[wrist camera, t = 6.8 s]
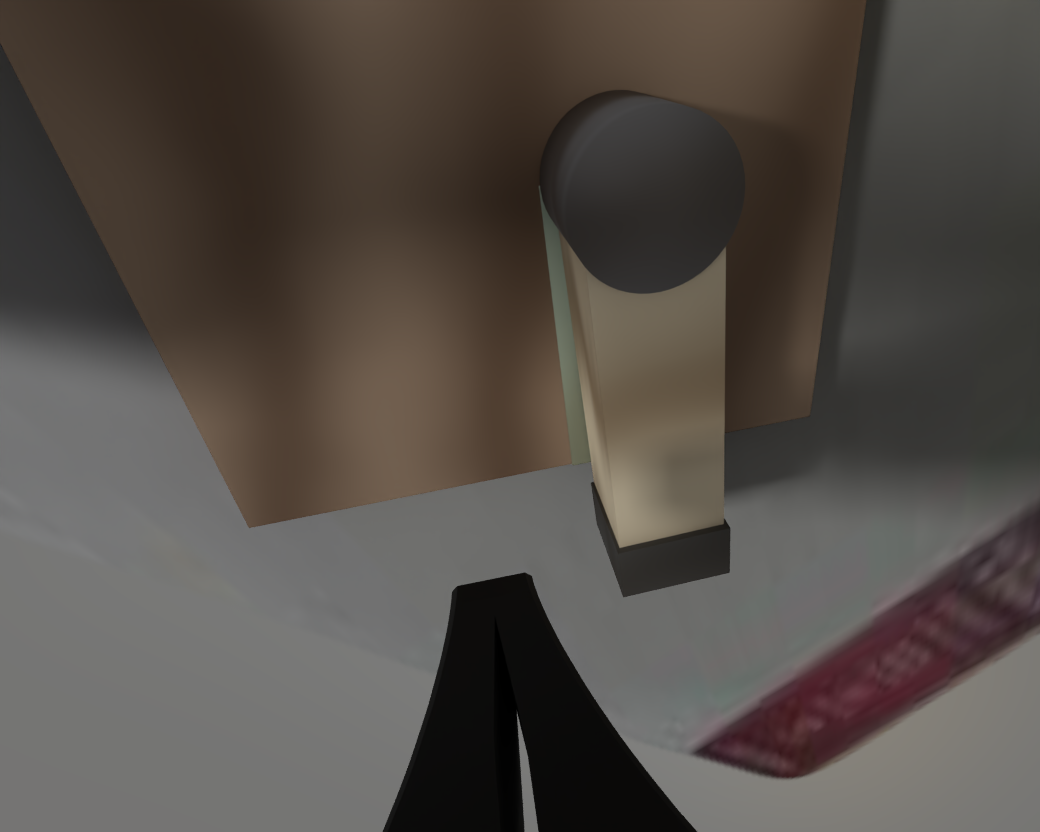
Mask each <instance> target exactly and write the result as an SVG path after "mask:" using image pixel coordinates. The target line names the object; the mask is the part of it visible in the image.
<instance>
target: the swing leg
mask: <svg viewBox="0 0 1040 832" xmlns="http://www.w3.org/2000/svg"><path fill="white" fill-rule="evenodd" d="M540 191H541V195H542V200H543V203H544V205H545V208H546V210H547V212H548V214H549V216H550V218H551V219H552V221H553V222H554V224H555V225H556V227H557V228H558V230H559V236H560V243H561V250H562V258H563V265H564V272H565V279H566V286H567V293H568V300H569V307H570V314H571V322H572V329H573V336H574V343H575V350H576V357H577V364H578V371H579V378H580V385H581V393H582V400H583V407H584V414H585V421H586V428H587V435H588V442H589V449H590V457H591V464H592V471H593V478H594V482H592V483H591V486H592V493H593V500H594V507H595V514H596V521H597V525H598V528H599V531H600V534H601V536H602V539H603V542H604V545H605V547H606V550H607V553H608V556H609V559H610V561H611V564H612V567H613V570H614V572H615V575H616V578H617V581H618V584H619V586H620V589H621V592H622V595H623V597H627V596H631V595H635V594H640V593H644V592H648V591H652V590H657V589H661V588H665V587H670V586H674V585H678V584H683V583H687V582H691V581H696V580H700V579H704V578H708V577H713V576H717V575H721V574H726V573H730V527H729V525H728V524H727V522H726V520H725V519H724V431H725V299H726V245H727V244H728V242H729V240H730V238H731V237H732V235H733V233H734V231H735V229H736V226H737V224H738V222H739V218H740V215H741V212H742V208H743V203H744V197H745V173H744V167H743V162H742V159H741V156H740V152H739V150H738V148H737V146H736V144H735V142H734V140H733V139H732V137H731V136H730V134H729V133H728V131H727V130H726V129H725V128H724V127H723V126H722V125H721V124H720V123H719V122H718V121H716V120H715V119H714V118H712V117H711V116H710V115H708V114H706V113H704V112H702V111H700V110H697V109H694V108H692V107H689V106H685V105H682V104H678V103H675V102H671V101H668V100H664V99H661V98H657V97H654V96H650V95H647V94H643V93H640V92H636V91H630V90H612V91H605V92H602V93H598V94H595V95H593V96H591V97H589V98H587V99H585V100H583V101H582V102H580V103H578V104H577V105H576V106H574V107H573V108H572V109H571V110H570V111H568V112H567V114H566V115H565V116H564V117H563V118H562V119H561V120H560V121H559V123H558V124H557V125H556V127H555V128H554V130H553V132H552V133H551V135H550V137H549V139H548V141H547V144H546V146H545V149H544V152H543V156H542V159H541V166H540Z"/></svg>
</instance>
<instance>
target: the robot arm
mask: <svg viewBox="0 0 1040 832" xmlns="http://www.w3.org/2000/svg"><path fill="white" fill-rule="evenodd" d="M517 713H518V717H519V721H520V725H521V730H522V734H523V738H524V742H525V746H526V750H527V754H528V759H529V767H530V774H531V781H532V788H533V795H534V802H535V809H536V816H537V824H538V831H539V832H697V831H696V830H695V829H694V828H693V827H692V825H691V824H690V823H689V822H688V821H687V820H686V819H685V817H684V816H683V815H682V814H681V813H680V812H679V811H678V809H677V808H676V807H675V806H674V805H673V803H672V802H671V801H670V800H669V798H668V797H667V796H666V795H665V794H664V792H663V791H662V790H661V789H660V787H659V786H658V785H657V784H656V782H655V781H654V780H653V779H652V777H651V776H650V775H649V774H648V772H647V771H646V770H645V768H644V767H643V766H642V765H641V763H640V762H639V761H638V759H637V758H636V757H635V756H634V754H633V753H632V752H631V750H630V749H629V748H628V746H627V745H626V743H625V742H624V741H623V739H622V738H621V737H620V735H619V734H618V732H617V731H616V730H615V728H614V727H613V725H612V724H611V723H610V721H609V720H608V718H607V717H606V715H605V714H604V712H603V711H602V709H601V708H600V706H599V705H598V703H597V702H596V700H595V699H594V697H593V696H592V694H591V693H590V691H589V690H588V688H587V687H586V685H585V683H584V682H583V680H582V679H581V677H580V675H579V674H578V672H577V670H576V668H575V667H574V665H573V663H572V662H571V660H570V658H569V657H568V655H567V653H566V652H565V650H564V648H563V646H562V645H561V643H560V641H559V639H558V637H557V635H556V633H555V631H554V629H553V627H552V625H551V623H550V621H549V619H548V617H547V615H546V613H545V611H544V609H543V607H542V604H541V602H540V599H539V597H538V594H537V591H536V589H535V586H534V583H533V579H532V576H531V575H529V574H527V573H520V574H515V575H510V576H505V577H500V578H495V579H490V580H485V581H480V582H475V583H470V584H465V585H460V586H457V587H456V588H455V589H454V590H453V591H452V600H451V609H450V615H449V622H448V627H447V633H446V638H445V642H444V647H443V651H442V656H441V660H440V664H439V668H438V671H437V675H436V679H435V683H434V686H433V690H432V694H431V698H430V701H429V705H428V708H427V711H426V714H425V718H424V721H423V724H422V727H421V730H420V733H419V736H418V739H417V742H416V745H415V748H414V751H413V754H412V757H411V760H410V763H409V766H408V768H407V771H406V774H405V776H404V779H403V782H402V784H401V787H400V790H399V792H398V795H397V798H396V800H395V803H394V805H393V807H392V810H391V812H390V815H389V817H388V820H387V822H386V825H385V827H384V830H383V832H524V817H523V801H522V785H521V769H520V754H519V739H518V725H517Z"/></svg>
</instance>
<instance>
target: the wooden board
mask: <svg viewBox="0 0 1040 832" xmlns="http://www.w3.org/2000/svg"><path fill="white" fill-rule="evenodd" d="M865 7H866V0H0V44H1V46H2V48H3V49H4V51H5V53H6V55H7V57H8V59H9V61H10V63H11V65H12V67H13V69H14V71H15V73H16V75H17V77H18V79H19V81H20V83H21V85H22V86H23V88H24V90H25V92H26V94H27V96H28V98H29V100H30V102H31V104H32V106H33V108H34V110H35V112H36V114H37V116H38V118H39V120H40V122H41V124H42V125H43V127H44V129H45V131H46V133H47V135H48V137H49V139H50V141H51V143H52V145H53V147H54V149H55V151H56V153H57V155H58V157H59V159H60V161H61V162H62V164H63V166H64V168H65V170H66V172H67V174H68V176H69V178H70V180H71V182H72V184H73V186H74V188H75V190H76V192H77V194H78V196H79V198H80V200H81V201H82V203H83V205H84V207H85V209H86V211H87V213H88V215H89V217H90V219H91V221H92V223H93V225H94V227H95V229H96V231H97V233H98V235H99V237H100V239H101V240H102V242H103V244H104V246H105V248H106V250H107V252H108V254H109V256H110V258H111V260H112V262H113V264H114V266H115V268H116V270H117V272H118V274H119V276H120V277H121V279H122V281H123V283H124V285H125V287H126V289H127V291H128V293H129V295H130V297H131V299H132V301H133V303H134V305H135V307H136V309H137V311H138V313H139V315H140V316H141V318H142V320H143V322H144V324H145V326H146V328H147V330H148V332H149V334H150V336H151V338H152V340H153V342H154V344H155V346H156V348H157V350H158V352H159V353H160V355H161V357H162V359H163V361H164V363H165V365H166V367H167V369H168V371H169V373H170V375H171V377H172V379H173V381H174V383H175V385H176V387H177V389H178V391H179V392H180V394H181V396H182V398H183V400H184V402H185V404H186V406H187V408H188V410H189V412H190V414H191V416H192V418H193V420H194V422H195V424H196V426H197V428H198V429H199V431H200V433H201V435H202V437H203V439H204V441H205V443H206V445H207V447H208V449H209V451H210V453H211V455H212V457H213V459H214V461H215V463H216V465H217V467H218V468H219V470H220V472H221V474H222V476H223V478H224V480H225V482H226V484H227V486H228V488H229V490H230V492H231V494H232V496H233V498H234V500H235V502H236V504H237V505H238V507H239V509H240V511H241V513H242V515H243V517H244V519H245V521H246V523H247V525H248V527H249V528H251V527H256V526H261V525H266V524H271V523H276V522H281V521H286V520H291V519H296V518H301V517H306V516H311V515H316V514H321V513H326V512H331V511H336V510H341V509H347V508H352V507H357V506H362V505H367V504H372V503H377V502H382V501H387V500H392V499H397V498H402V497H407V496H412V495H417V494H422V493H427V492H432V491H437V490H442V489H447V488H452V487H457V486H462V485H467V484H472V483H477V482H482V481H487V480H492V479H497V478H502V477H507V476H512V475H517V474H522V473H527V472H532V471H537V470H542V469H547V468H552V467H557V466H562V465H567V464H572V465H578V464H583V463H588V462H591V457H590V449H589V442H588V435H587V428H586V421H585V414H584V407H583V400H582V393H581V385H580V378H579V371H578V364H577V357H576V350H575V343H574V336H573V329H572V322H571V314H570V307H569V300H568V293H567V286H566V279H565V272H564V265H563V258H562V250H561V243H560V236H559V230H558V228H557V227H556V225H555V224H554V222H553V221H552V219H551V218H550V216H549V214H548V212H547V210H546V208H545V205H544V203H543V200H542V195H541V191H540V166H541V159H542V156H543V152H544V149H545V146H546V144H547V141H548V139H549V137H550V135H551V133H552V132H553V130H554V128H555V127H556V125H557V124H558V123H559V121H560V120H561V119H562V118H563V117H564V116H565V115H566V114H567V112H568V111H570V110H571V109H572V108H573V107H574V106H576V105H577V104H578V103H580V102H582V101H583V100H585V99H587V98H589V97H591V96H593V95H595V94H598V93H602V92H605V91H612V90H630V91H636V92H640V93H643V94H647V95H650V96H654V97H657V98H661V99H664V100H668V101H671V102H675V103H678V104H682V105H685V106H689V107H692V108H694V109H697V110H700V111H702V112H704V113H706V114H708V115H710V116H711V117H712V118H714V119H715V120H716V121H718V122H719V123H720V124H721V125H722V126H723V127H724V128H725V129H726V130H727V131H728V133H729V134H730V136H731V137H732V139H733V140H734V142H735V144H736V146H737V148H738V150H739V152H740V156H741V159H742V162H743V167H744V173H745V197H744V203H743V208H742V212H741V215H740V218H739V222H738V224H737V226H736V229H735V231H734V233H733V235H732V237H731V238H730V240H729V242H728V244H727V245H726V299H725V431H724V433H728V432H733V431H738V430H743V429H748V428H753V427H758V426H763V425H768V424H773V423H778V422H783V421H788V420H793V419H798V418H803V417H808V416H810V412H811V405H812V397H813V390H814V383H815V375H816V368H817V361H818V353H819V346H820V339H821V331H822V324H823V316H824V309H825V302H826V294H827V287H828V280H829V272H830V265H831V258H832V250H833V243H834V236H835V228H836V221H837V213H838V206H839V199H840V191H841V184H842V177H843V169H844V162H845V155H846V147H847V140H848V133H849V125H850V118H851V110H852V103H853V96H854V88H855V81H856V74H857V66H858V59H859V52H860V44H861V37H862V30H863V22H864V15H865Z"/></svg>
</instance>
